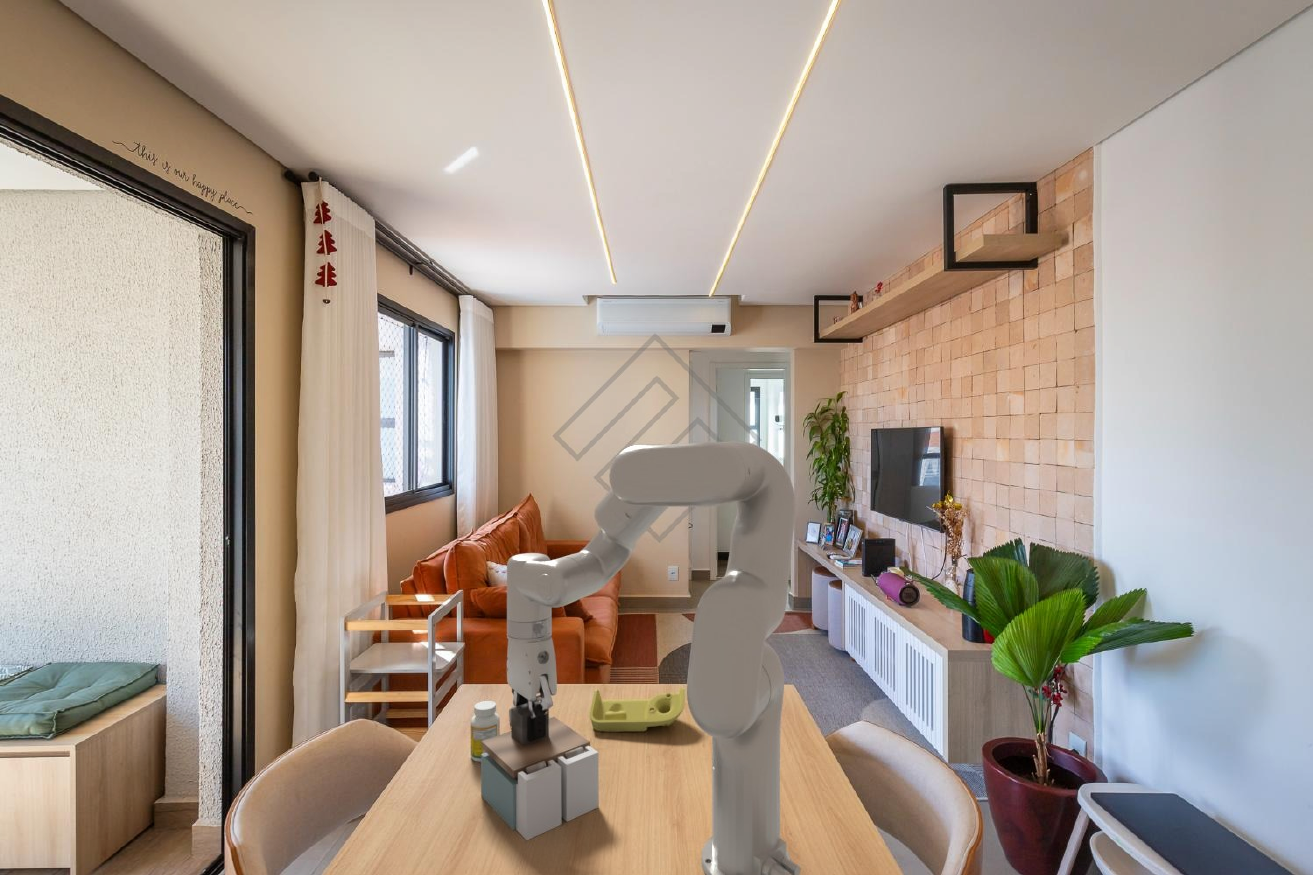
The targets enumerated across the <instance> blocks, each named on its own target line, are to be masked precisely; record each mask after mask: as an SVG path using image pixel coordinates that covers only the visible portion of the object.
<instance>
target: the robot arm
mask: <svg viewBox="0 0 1313 875" xmlns="http://www.w3.org/2000/svg"><path fill="white" fill-rule="evenodd" d="M609 469H610V470H609V476H608V478H609V484H610V488H611V489H609V491H608V492H607V493H606V494H605V495H604V496H603V497H602V498H601V500H600V501H599V502H598V503H597V504H596V505H595V508H594V519H595V521H596V523H597V525H598V527H599V530H598V531H597V533H596V534H595V535H594V536H593V538H592V539H591V540H590V541H589V542H588V543H587V544H586V545H585V546H584V547H583V548H582V549H581V550H580V551H579V552H576V553H571V554H569V555H566V556H562V557H559V558H556V559H554V558H553V559H552V560H551V559H550V557H549V556H548V555H547V554H543V553H539V552H526V553H519V554H515V555H512V556H511V557H510V558H509V559H508V561H507V562H506V638H507V639H508V641H507V653H506V654H507V655H506V681H507V684H508V686H509V688H511V693H512V695H513V696H512V697H513V699H512V704H513V707H516V706H519V705H523V704H526V703H529V714H530V717H527V739H528V741H529V742H532V741H535V740H537V739H540V738H543V737H545V736H546V714H547V710H548V709H549V710H550V709H551V708H552V707H554V701H553V697H552V696H555V695H556V694H557V690H558V689H557V688H558V681H557V664H556V663H557V661H556V653H555V646H554V642H553V641H554V640H553V637H552V631H553V630H552V627H553V625H552V624H553V622H552V619H553V617H552V613H553V612H552V608H560V607H561V608H562V607H565V606H568V605H569V604H572V603H574V602H576V601H579V600H580V599H583V598H586V597H589V596H591V595H594V594H595V593H597V592H599V591H601V589H602V588H604V587H605V586H606V585H607V584H608V583H609V582H610V581H611V580H612V579H613V578H614V577H615V576H616V575H617V573H619V571H621V569H622V568H623V567H624V566H625V565H626V564H627V562H628V561H629V559H630V557H631V556H632V554H633V551H634V550H635V548H636V543H637V542H638V540H639V539H640V538H641V537H642V536H643V535H644V534H645V533H646V532H647V530H648V529H650V527H651V526H652V525H653V524H655V522H656V521H657V520H658V519H659V518H660V517H661V516H662V514H663V513H664V512H666V511H667V509H669V508H670V507H686V508H687V507H691V508H692V507H693V508H694V507H695V508H698V507H699V508H701V507H702V508H703V507H704V508H707V507H719V506H724V505H727V504H730V503H734V502H736V506H737V510H736V511H737V512H736V517H735V520H734V522H733V526H732V530H731V535H730V541H729V543H730V544H729V545H730V546H729V553H728V555H729V556H728V560H727V566H726V571H725V575H724V576H723V577H722V578H720V579H719V580H717V581H715V582H713V584H711V585H710V586H709V587H708V588H707V589H706V590H705V592H704V593H703V594H702V595H701V597H700V599H699V601H698V604H697V607H696V610H695V614H694V618H693V627H692V633H691V634H692V635H691V643H690V654H689V662H688V670H687V681H686V699H687V700H686V701H687V705H688V709H689V712H690V715H691V716H692V719H693V721H694V722H695V723H696V725H697V726H698V727H699V728H700V729H701V730H702V731H703V732H704V733H705V734H707V735H708V736H711V737H712V740H711V741H712V743H711V744H712V745H711V746H712V747H711V748H712V749H711V750H712V752H711V754H712V756H711V765H712V768H711V769H712V771H711V772H712V773H711V774H712V776H711V777H712V778H711V782H712V783H711V784H712V788H711V789H712V792H711V793H712V794H711V795H712V796H711V797H712V809H711V810H712V813H711V814H712V815H711V816H712V818H711V819H712V820H711V823H712V824H711V825H712V827H711V828H712V832H711V833H712V835H711V837H709V838H708V840H707V841H705V842H704V843H705V844H704V845H702V846H703V847H702V849H701V850H702V851H701V867H702V870H703V873H704V874H705V875H800V874H801V870H802V867H801V866H800V865H798V864H797V863H795V862H794V861H792V858H791V855H790V852H788V850H787V841H785V840H784V839H782V838H781V728H782V726H781V725H782V724H781V723H782V711H783V705H784V704H783V703H784V702H783V701H784V695H785V694H784V693H785V675H784V669H783V665H782V662H781V659H780V657H779V655H778V653H777V652H776V650H775V649H774V648H773V647H772V646H771V644H769V643H767V642H766V639H767V638H769V636H771V634H773V633H774V632H775V631H776V630H777V628H778V627H779V626H780V625H781V623H782V622H783V620H784V618H785V615H786V610H787V599H788V589H789V588H788V586H789V578H790V570H791V562H792V561H791V560H792V547H793V540H794V538H793V537H794V530H795V528H794V527H795V519H796V497H795V496H796V494H795V491H794V487H793V483H792V480H791V478H790V475H789V473H788V471H787V469H786V468H785V466H783V464H782V463H781V462H780V460H778V458H776V457H775V456H774V455H773V454H771V452H769V451H767V450H766V449H764V448H763V447H761V446H759V445H756V444H754V443H751V442H746V441H740V440H737V441H736V440H731V441H730V440H729V441H708V442H692V443H675V444H674V443H672V444H662V443H654V444H650V443H649V444H647V443H646V444H636V445H631V446H629V447H627V448H625V449H623V450H621V451H620V452H619V454H617V456H616V457H615V458H614V459H613V462H612V464H611V466H610V468H609ZM538 694H539V695H538ZM537 701H540V702H541V703H540V704H538V705H537V706H536V708H535V702H537Z"/></svg>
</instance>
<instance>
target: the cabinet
mask: <svg viewBox="0 0 1313 875" xmlns="http://www.w3.org/2000/svg"><path fill="white" fill-rule="evenodd" d="M480 765H481V766H480V780H481V781H480V785H481V786H480V788H481V789H480V792H481V794H480V796H481V797H482V798H483V800H485V802H486V803H488V805H489V806H490V807H491V808H492V809H493V810H494V811H495V812H496V813H497V815H498V816H499V817H500V818H501V819H502V820H503V821H504V822H505V823H506V824H507V825H508V827H509V828H510V829H511V830H512V831H518V833H519V835H521V836H522V837H523V838H524V840H526V841H529V840H531V839H533V838H535V837H537V836H539V835H541V834H543V833H544V834H545V833H546V832H548V831H550V830H553V829H555V828H557V827H559V826H561V825H562V819H563V820H565V822H570V821H571V820H574V819H576V818H578V817H580V816H582V815H584V814H587V813H589V812H591V811H593V810H595V809H598V808H599V807H600V806H599V804H600V803H599V798H600V797H599V796H600V794H599V780H600V779H599V775H600V774H599V751H597V750H596V749H594V748H593V747H592V746H591V745H590V746H587V747H585V751H584V753H582V754H579V755H577V756H574V757H572V758H569V759H565V758H564V757H563V756H561V757H558V761H557V762H554V761H553V760H550V761H548V765H547V766H546V768H543V769H541V770H538V771H536V772H533V773H531V774H528V775H527V774H525V773H524V772H523V771H522V772H519V773H518V777H516V778H513V777H512V776H511V775H510V774H508V773H507V772H506V771H505V770H504V769H503V768H502V767H501V766H500V765H499V764H498V763H497V762H496V761H495V760H494V759H493V758H492V757H490V756H489V755H488V754H487V753H483V754H481V762H480Z"/></svg>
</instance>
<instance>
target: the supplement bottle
mask: <svg viewBox="0 0 1313 875" xmlns="http://www.w3.org/2000/svg"><path fill="white" fill-rule="evenodd" d="M473 709H474V710H473V712H474V715H473V716H472V717H471V720H470V757H471V759H472V761H474V762H478V763H481V754H483V753H486V752H485V751H484V750H483V749H482V741H483V740H486V739H489V738H492V737H495V736H498V735H501V734H500V727H501V726H500V716H499V714H498V713H496V711H497V703H496V702H495V701H493V700H484V701H483V700H482V701H479V702H477V703H476V704H474V708H473Z"/></svg>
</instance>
